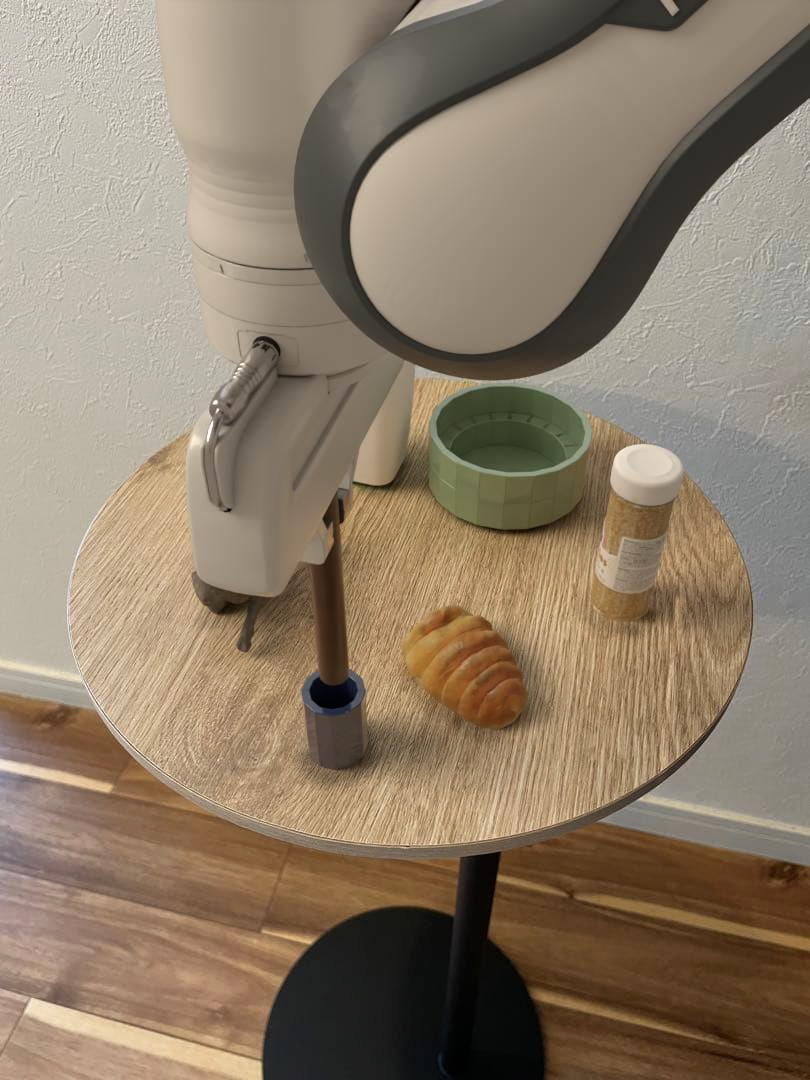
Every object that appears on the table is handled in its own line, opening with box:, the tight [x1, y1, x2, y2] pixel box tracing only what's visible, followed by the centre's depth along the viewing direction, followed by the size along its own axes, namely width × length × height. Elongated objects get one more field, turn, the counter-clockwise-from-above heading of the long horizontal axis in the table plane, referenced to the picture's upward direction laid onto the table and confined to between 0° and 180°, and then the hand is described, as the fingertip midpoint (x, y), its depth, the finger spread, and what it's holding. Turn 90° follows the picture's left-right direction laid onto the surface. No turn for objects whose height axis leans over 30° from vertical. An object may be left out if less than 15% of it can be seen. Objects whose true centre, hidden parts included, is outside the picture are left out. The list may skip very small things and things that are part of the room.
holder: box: [300, 668, 369, 770], centre depth 60 cm, size 4×4×6 cm
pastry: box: [401, 604, 529, 730], centre depth 65 cm, size 9×7×4 cm
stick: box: [307, 489, 350, 686], centre depth 53 cm, size 2×2×14 cm
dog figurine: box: [191, 570, 267, 653], centre depth 70 cm, size 12×6×7 cm, turn 166°
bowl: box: [427, 382, 594, 530], centre depth 81 cm, size 13×13×6 cm
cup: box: [353, 360, 416, 487], centre depth 80 cm, size 7×7×15 cm
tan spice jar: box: [588, 443, 684, 623], centre depth 68 cm, size 5×5×13 cm
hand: (323, 533), depth 50 cm, fingers closed on stick, 2 cm apart
